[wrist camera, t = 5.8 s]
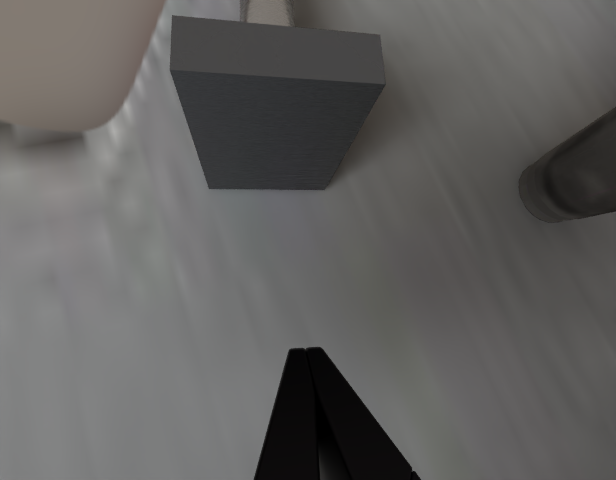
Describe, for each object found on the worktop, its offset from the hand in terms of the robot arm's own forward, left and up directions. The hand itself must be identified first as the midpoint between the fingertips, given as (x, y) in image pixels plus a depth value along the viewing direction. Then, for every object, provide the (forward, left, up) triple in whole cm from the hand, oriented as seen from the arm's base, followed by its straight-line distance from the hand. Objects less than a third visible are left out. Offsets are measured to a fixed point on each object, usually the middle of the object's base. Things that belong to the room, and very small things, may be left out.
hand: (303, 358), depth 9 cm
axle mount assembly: (+15, 0, -10) cm, 19 cm away
